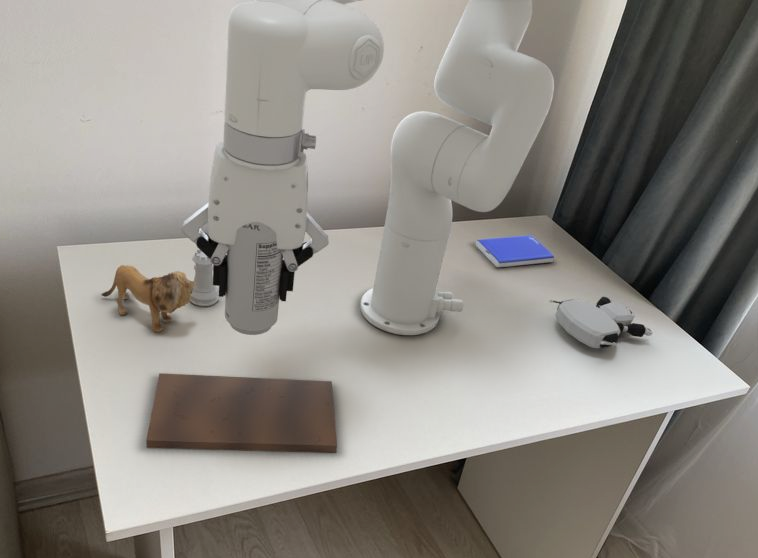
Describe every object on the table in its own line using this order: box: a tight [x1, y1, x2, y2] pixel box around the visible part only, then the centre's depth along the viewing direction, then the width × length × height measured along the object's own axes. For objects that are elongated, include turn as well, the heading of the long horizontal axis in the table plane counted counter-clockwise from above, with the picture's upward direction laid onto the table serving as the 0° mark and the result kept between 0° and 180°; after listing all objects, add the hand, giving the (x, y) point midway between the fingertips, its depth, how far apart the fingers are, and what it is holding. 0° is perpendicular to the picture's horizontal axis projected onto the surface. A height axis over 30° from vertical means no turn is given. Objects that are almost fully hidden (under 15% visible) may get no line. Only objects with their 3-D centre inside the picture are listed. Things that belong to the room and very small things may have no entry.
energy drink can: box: [224, 222, 284, 336], centre depth 81 cm, size 6×6×15 cm
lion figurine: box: [100, 264, 195, 333], centre depth 101 cm, size 15×5×9 cm, turn 70°
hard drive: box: [475, 234, 555, 268], centre depth 138 cm, size 2×8×12 cm
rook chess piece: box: [189, 248, 220, 307], centre depth 107 cm, size 4×4×8 cm
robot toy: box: [548, 295, 653, 349], centre depth 120 cm, size 12×4×15 cm
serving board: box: [145, 372, 338, 453], centre depth 91 cm, size 22×12×1 cm, turn 98°
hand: (253, 291), depth 83 cm, fingers closed on energy drink can, 6 cm apart
